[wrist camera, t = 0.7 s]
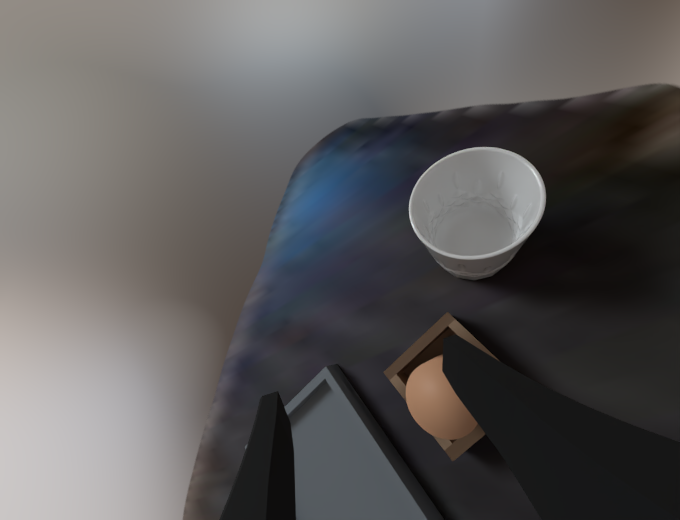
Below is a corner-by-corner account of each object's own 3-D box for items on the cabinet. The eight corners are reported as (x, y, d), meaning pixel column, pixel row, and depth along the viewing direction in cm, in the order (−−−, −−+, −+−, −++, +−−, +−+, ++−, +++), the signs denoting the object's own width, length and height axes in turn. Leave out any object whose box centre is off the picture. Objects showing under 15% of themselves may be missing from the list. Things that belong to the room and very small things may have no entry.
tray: (475, 564, 20) (476, 593, 18) (357, 654, 21) (343, 689, 19) (336, 364, 28) (325, 366, 26) (260, 439, 30) (244, 446, 28)
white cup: (469, 303, 24) (466, 285, 16) (413, 245, 28) (386, 205, 20) (542, 247, 23) (583, 193, 14) (473, 194, 27) (473, 126, 18)
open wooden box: (525, 385, 21) (534, 393, 18) (455, 444, 22) (452, 461, 19) (450, 314, 25) (447, 311, 22) (393, 368, 26) (383, 372, 23)
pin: (489, 382, 21) (499, 408, 14) (453, 413, 22) (442, 456, 14) (450, 343, 23) (439, 346, 16) (418, 372, 24) (392, 390, 16)
